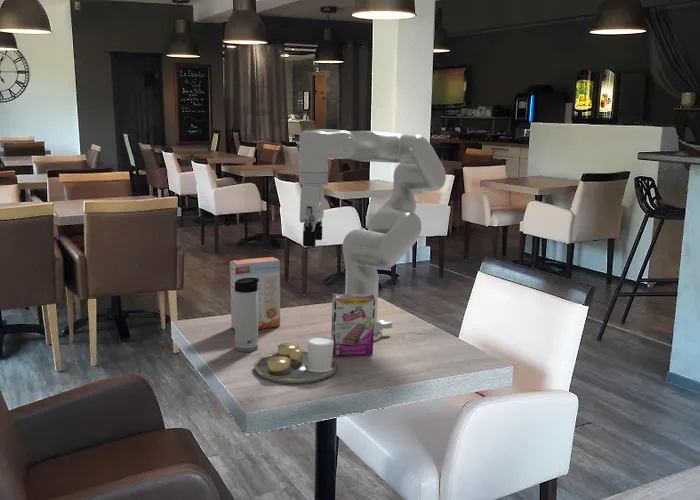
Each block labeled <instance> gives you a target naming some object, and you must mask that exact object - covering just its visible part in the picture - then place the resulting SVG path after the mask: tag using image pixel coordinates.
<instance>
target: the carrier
mask: <svg viewBox="0 0 700 500" xmlns="http://www.w3.org/2000/svg"><path fill="white" fill-rule="evenodd" d="M253 369H254V373H255V375H256V376H257V377H259V378H260V379H262V380H264V381H267V382H270V383H275V384H279V385H280V384H281V385H293V386H294V385H295V386H296V385H297V386H298V385H300V386H301V385H309V384H311V385H312V384H316V383H320V382H323V381H326V380H328V379H330V378H332V377H334V375H336V373H337V370H338V363H337V362H336V361H335V360H334V359H333V358H332V364H331V368H330V369H329V370H325V371H315V370H311V369H310V368H309V361H308V350H307V351H304V350H303V349H302V348H301V347H300V344H298V343H296V342H282V343H280V344H278V346H277V352H273V353H270V354H266V355H264V356H262V357H259V358H258V360H257V361H256V362H255V363H254V364H253Z"/></svg>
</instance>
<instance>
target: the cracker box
mask: <svg viewBox="0 0 700 500" xmlns="http://www.w3.org/2000/svg"><path fill="white" fill-rule="evenodd" d="M280 261H281V260H279V259H278V258H276V257H274V256H271V257H270V256H269V257H256V258H247V259H237V260H236V259H234V260H230V261H229V280H230V281H229V282H230V284H229V285H230V315H231V316H230V318H231V321H230V322H231V326H230V327H231V329H233V330H234V331H235V281H237V280H239V279H243V278H259V281H258V286H257V287H258V330H261V329H269V328H276V327H280V326H281V274H280V273H281V272H280V271H281V270H280V268H281V262H280Z"/></svg>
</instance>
